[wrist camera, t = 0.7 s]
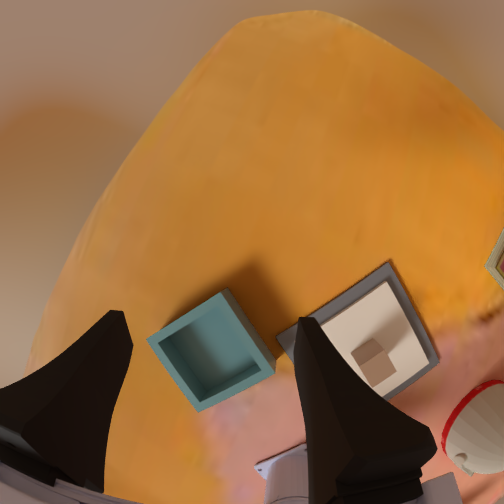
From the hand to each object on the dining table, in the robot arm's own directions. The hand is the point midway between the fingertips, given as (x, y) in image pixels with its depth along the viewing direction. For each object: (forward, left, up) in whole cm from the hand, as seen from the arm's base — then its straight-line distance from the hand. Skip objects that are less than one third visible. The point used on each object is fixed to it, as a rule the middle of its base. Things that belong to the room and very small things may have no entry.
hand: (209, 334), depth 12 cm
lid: (-14, -6, -21) cm, 26 cm away
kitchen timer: (-37, -16, -22) cm, 46 cm away
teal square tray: (-4, +8, -22) cm, 23 cm away
